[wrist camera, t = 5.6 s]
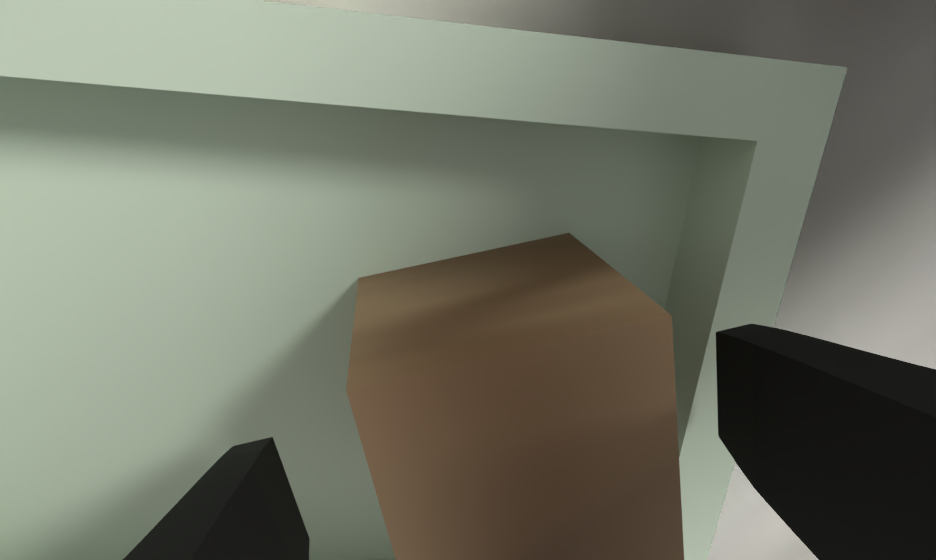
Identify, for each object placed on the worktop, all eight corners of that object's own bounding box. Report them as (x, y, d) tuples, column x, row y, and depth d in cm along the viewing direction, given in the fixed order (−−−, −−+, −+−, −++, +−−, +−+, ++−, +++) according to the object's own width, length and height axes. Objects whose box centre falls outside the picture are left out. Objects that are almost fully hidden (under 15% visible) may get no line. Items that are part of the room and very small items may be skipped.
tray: (751, 69, 11) (847, 67, 9) (636, 558, 15) (683, 644, 12) (-238, -38, 8) (-468, -83, 6) (-64, 592, 12) (-165, 708, 10)
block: (569, 232, 11) (671, 315, 7) (589, 411, 12) (684, 560, 8) (358, 277, 10) (345, 390, 7) (404, 455, 12) (417, 630, 8)
